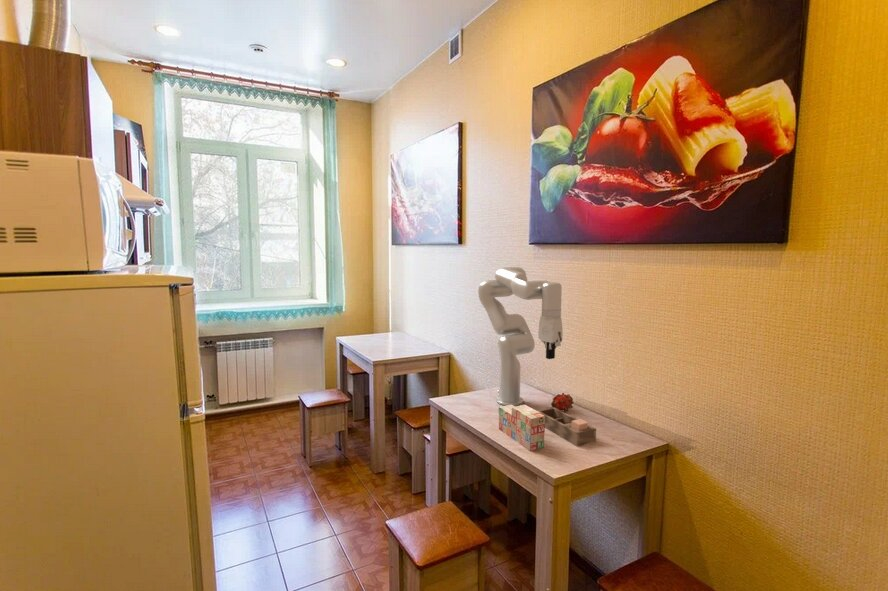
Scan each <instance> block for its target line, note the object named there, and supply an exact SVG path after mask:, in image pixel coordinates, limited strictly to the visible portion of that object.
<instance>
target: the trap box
mask: <svg viewBox="0 0 888 591" xmlns="http://www.w3.org/2000/svg"><path fill="white" fill-rule="evenodd" d="M537 411H538V412H540V413H541V414H542V415H544V416H545V429H546V430H547V431H549V432H551V433H553V434H555V435H557V436H559V438H562V439H563V440H564V441H565V440H566V441H567V442H569V443H571V444H572V445H574V446H576V447H580V446H584V445H587V444H592V443H596V442H597V428H596V427H594V426H592V425H590V424H589V423H587V430H582V431H578V432H577V431H575V430H574V429H572V428H571V424H572V421H573V420H578V419H579V418H576V417H574V416H572V415H570V414H567V412H564V411H560V410H558V409H556V408H553V407H550V408H545V409H539V410H537Z"/></svg>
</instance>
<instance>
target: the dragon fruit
mask: <svg viewBox="0 0 888 591" xmlns="http://www.w3.org/2000/svg"><path fill="white" fill-rule="evenodd" d="M574 403H575V402H574V399H573V397H572V396H571V395H570V394H565V393H564V392H562V394H559V393H558V394H556V395H555V396H554V397H553V398H552V402H551V408H556V409H558V410H560V411H562V412H564V413H567V412H568V411H569V409H573V408H574V405H573V404H574Z"/></svg>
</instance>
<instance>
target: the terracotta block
mask: <svg viewBox="0 0 888 591" xmlns="http://www.w3.org/2000/svg"><path fill="white" fill-rule="evenodd" d="M577 419H578V420H573V421H572V424H571V428H572V429H574V430H575V431H577V432H578V431H582V430H587V424H588V422H587V421H585V420H583V419H581V418H577Z"/></svg>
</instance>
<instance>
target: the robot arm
mask: <svg viewBox="0 0 888 591" xmlns="http://www.w3.org/2000/svg"><path fill="white" fill-rule="evenodd" d="M494 274H495V275H494V279H490V280H489V279H488V280H484V281H483V282H482V281H481V283H480V284H479V286H478V289H477V290H478V291H477V292H478V298H479V301H480V303H481V305H482V306H483V308H484V309H485V311H486V313H487V316H488V318H489V321H490V324H491V325H492V328H493V330H494V333H495V334H496V335H499V336H501V337H500V338H499V339H498V341H497V350H498V356H499V389H497V390H496V391H497V392H496V393H498V396H496V398H495V401H496V403H498V404H499V405H501V406H506V405H513V406H520V405H523V403H524V398H523V397H521V362H520V360H519V359H518V357H517V356H519V355H525V354H530V353H532V352H533V351H534V350H535V345H536V342H535V340H534V337H533V334H532V332H531V330H530V328H529V326H528V325H529V324H528V323H527V321H526V319H525V318H524V316H522V315H521V314H518V313H511V314H509V313H508V312H507V311H506V309H505V306H504V304H503V303H501V302H500V300H498V299H496V298H503V297H511V296H512V295H514V296H515V297H518V298H520V299H522V300H527V301H528V300H529V301H530V300H541V315H540V317H539V318H540V319H539V322H538V335H537V336H538V339H539V340H540V342H542V343H543V344H544V348H545V359H547V360H552V359H553V360H554V359H555V358H556V349H557V347H561V343H562V341H563V338H564V337H563V332H564V330H563V321H562V295H563V294H562V293H563V292H562V291H563V290H562V284H561V283H560V282H555V281H554V282H553V281H552V282H551V281H549V280H528V277H527V273H526V271H525V270H524V269H523V267H519V266H509V267H506V266H505V267H501V268H498V269H497V270H496V272H495V273H494Z"/></svg>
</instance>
